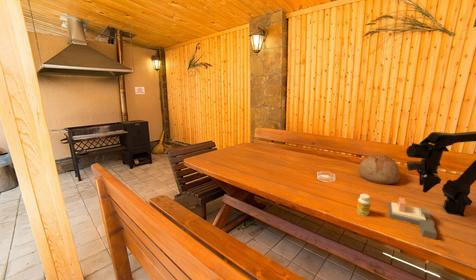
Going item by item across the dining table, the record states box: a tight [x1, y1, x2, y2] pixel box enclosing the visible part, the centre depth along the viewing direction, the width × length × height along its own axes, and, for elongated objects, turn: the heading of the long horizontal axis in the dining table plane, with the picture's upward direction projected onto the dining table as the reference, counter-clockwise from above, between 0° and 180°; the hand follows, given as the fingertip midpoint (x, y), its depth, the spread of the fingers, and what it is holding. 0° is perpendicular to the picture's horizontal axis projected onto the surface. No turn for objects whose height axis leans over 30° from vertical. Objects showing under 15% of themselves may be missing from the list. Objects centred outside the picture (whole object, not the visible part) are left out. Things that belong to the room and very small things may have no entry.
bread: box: [358, 154, 401, 185], centre depth 140 cm, size 26×23×15 cm
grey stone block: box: [418, 205, 431, 217], centre depth 95 cm, size 3×5×2 cm, turn 147°
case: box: [387, 202, 437, 240], centre depth 95 cm, size 16×20×3 cm
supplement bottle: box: [356, 193, 372, 217], centre depth 101 cm, size 5×5×10 cm
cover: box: [390, 197, 426, 221], centre depth 98 cm, size 12×10×6 cm
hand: (422, 188), depth 101 cm, fingers open, 9 cm apart
